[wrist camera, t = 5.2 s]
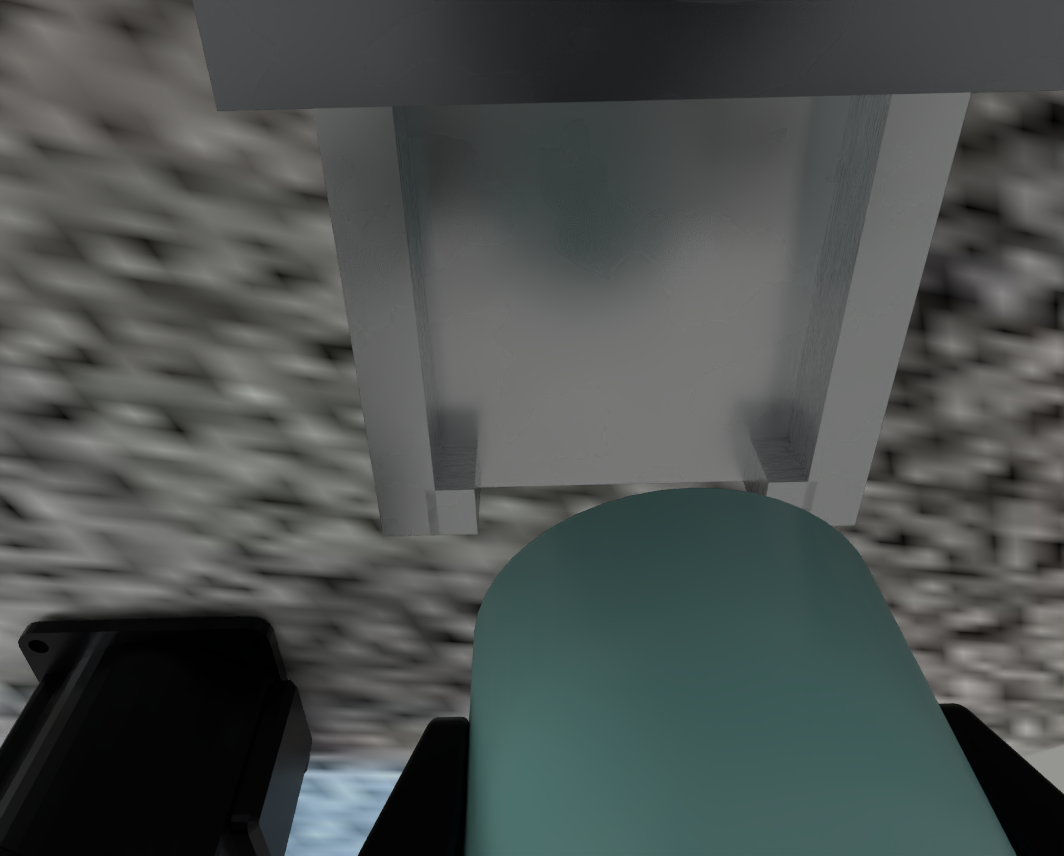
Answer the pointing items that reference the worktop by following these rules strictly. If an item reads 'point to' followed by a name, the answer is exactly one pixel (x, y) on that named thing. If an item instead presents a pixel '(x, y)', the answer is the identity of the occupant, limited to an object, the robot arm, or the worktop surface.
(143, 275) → the worktop surface
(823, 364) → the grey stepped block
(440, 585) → the worktop surface
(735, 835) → the teal bottle with cap
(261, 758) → the robot arm
